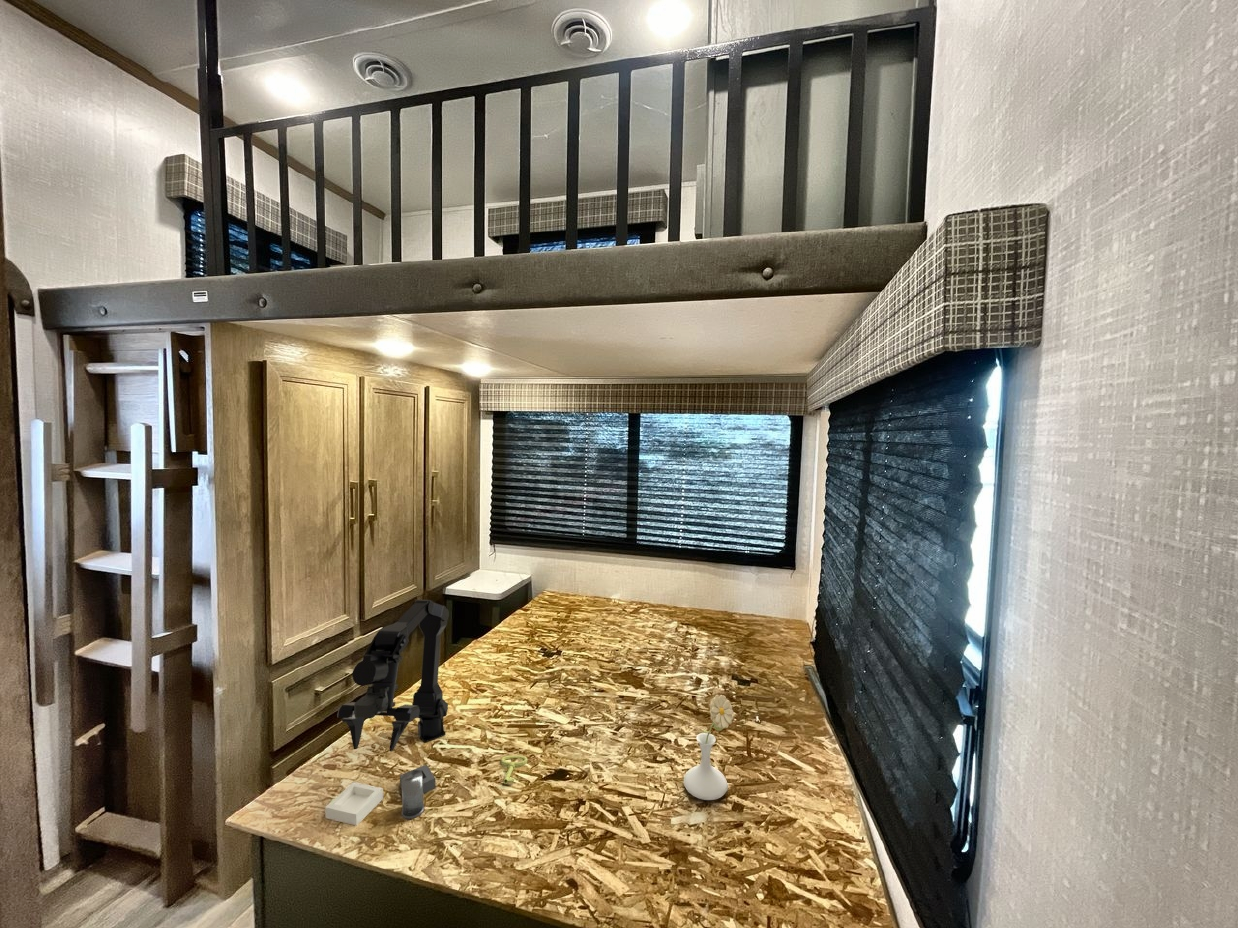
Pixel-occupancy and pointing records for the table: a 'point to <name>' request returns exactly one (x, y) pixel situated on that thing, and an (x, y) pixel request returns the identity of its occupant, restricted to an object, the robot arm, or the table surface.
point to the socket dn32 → (425, 779)
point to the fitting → (412, 794)
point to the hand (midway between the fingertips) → (373, 749)
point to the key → (512, 766)
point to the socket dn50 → (354, 803)
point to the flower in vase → (704, 777)
